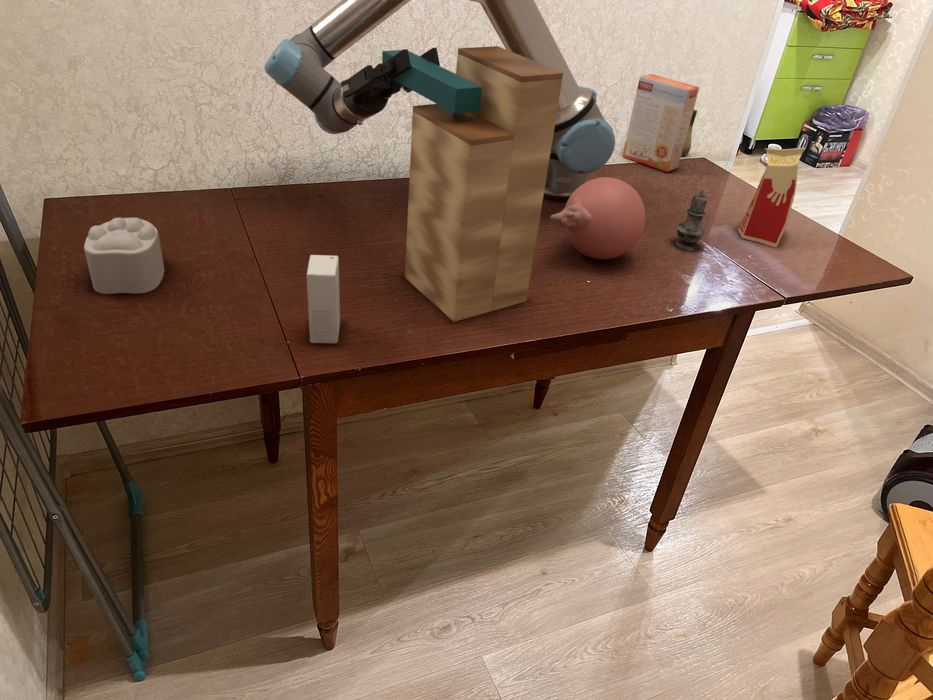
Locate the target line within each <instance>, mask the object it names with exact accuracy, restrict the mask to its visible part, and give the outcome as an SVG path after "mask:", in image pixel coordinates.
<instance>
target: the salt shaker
mask: <svg viewBox="0 0 933 700" xmlns="http://www.w3.org/2000/svg"><path fill="white" fill-rule="evenodd" d="M704 193H705V192H704V190H701V191H700V193H696V194H694V195H693V196H692V199H691V203H690V206H689V208H687V210H686V212H687V215H686V218H685V220H684V222H680V223H678V224H677V225H676V236H677V237H678V238H676V239H674V240H673V245H674V246H675V247H676V248H677V249H678V248H679V249H680V250H684V251H688V252H694V251H697V250H698V251H699V249H700V244H699V243H698V242H699V241H701V240H702V238H703V237H704V236H705V234H706V229H705V228H703V227H702V221H703V218H704V216H706V212H705V210H706V206H707V204H708V197H707V195H705V194H704Z"/></svg>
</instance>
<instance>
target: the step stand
mask: <svg viewBox="0 0 933 700" xmlns="http://www.w3.org/2000/svg"><path fill="white" fill-rule="evenodd" d="M456 56H457V57H456V69H455V74H457V75H459V76H461V77H463V78H465V79H467V80H469V81H471V82H473V83H475V84H477V85H479V86H481V87H482V93H481V103H480V111H475V112H466V113H456V114H454V113H452V112H450V111H449V110H447V109H445V108H443V107H441V106H440V105H438V104H436V103H430V104H421V105H419V104H418V105H413V106H412V114H411V115H412V117H411V118H412V119H411V139H410V157H409V158H410V159H409V160H410V162H409V180H408V181H409V182H408V201H407V204H408V205H407V222H406V225H407V226H406V244H405V248H406V249H405V265H404V267H405V268H404V278H405V279H406V280H407V281H408V282H409V283H410V284H411V285H412V286H413V287H415V288H416V289H417V290H418V291H419V292H420V293H421V294H422V295H424V296H425V297H426V298H427V299H428V300H429V301H430V302H431V303H432V304H434V306H436V308H438V309H439V310H440V311H441V312H442V313H444V314H445V315H446V316H447V317H448V318H449V319H450V320H451V321H452V322H454V323H456V322H458V321H461V320H465V319H470V318H472V317H475V316H480V315H483V314H486V313H490V312H494V311H497V310H501V309H505V308H508V307H511V306H513V305H514V306H515V305H518V304H521V303H525V302H527V299H528V293H529V289H530V288H529V287H530V281H531V275H532V270H533V269H532V268H533V264H534V263H533V262H534V256H535V250H536V244H537V238H538V232H539V225H540V220H541V214H542V208H543V200H544V198H543V195H544V189H545V183H546V177H547V171H548V165H549V158H550V152H551V146H552V140H553V134H554V128H555V122H556V115H557V109H558V103H559V97H560V91H561V85H562V78H563V73H562V72H560V71H557V70H555V69H552V68H550V67H547V66H545V65H542V64H540V63H538V62H535V61H533V60H530V59H528V58H525V57H523V56H520V55H518V54H516V53H513V52H511V51H508V50H506V48H503V47H500V46H498V45H495V46H494V45H493V46H491V45H490V46H476V47H474V46H473V47H459V48H457V55H456Z"/></svg>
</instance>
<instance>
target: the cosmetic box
mask: <svg viewBox="0 0 933 700" xmlns="http://www.w3.org/2000/svg"><path fill="white" fill-rule="evenodd" d="M339 261H340V260H339V256H338V255H326V254H325V255H324V254H310V255H309V260H308V265H307V270H306V285H307V286H306V291H307V308H308V309H307V310H308V329H309V331H308V332H309V342H310V343H311V344H338V342H339V333H340V326H341V304H340V303H341V301H340V298H341V297H340V263H339Z"/></svg>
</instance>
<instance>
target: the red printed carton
mask: <svg viewBox="0 0 933 700" xmlns="http://www.w3.org/2000/svg"><path fill="white" fill-rule="evenodd" d="M805 149H806V147H797V148H787V149H786V148H785V149H782V148H766V147H765V151H766V153H767V166H766V167H765V169H764V172H763V174H762V176H761V178H760V180H759V182H758V183H759V184H758V186H757V188H756V191H755V193H754V195H753V197H752V199H751V201H750V203H749V205H748V208H747V209H746V212H745V214H744V216H743V217H742V220H741V222H740V225H739V227H738V229H737V231H738V233H739V235H740V237H741V239H744V240H748V241H753V242H756V243H761V244H764V245H766V246H769V247H773V248H775V249H777V248H778V246H779V243H780V241H781V240H782V236H783V234H784V232H785V230H786V228H787V225H788V222H789V218H790V215H791V211H792V207H793V204H794V199H795V196H796V190H797V189H796V187H797V181H798V173H799V161H800V159H801V157H802V154H803V152H804V151H805Z"/></svg>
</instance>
